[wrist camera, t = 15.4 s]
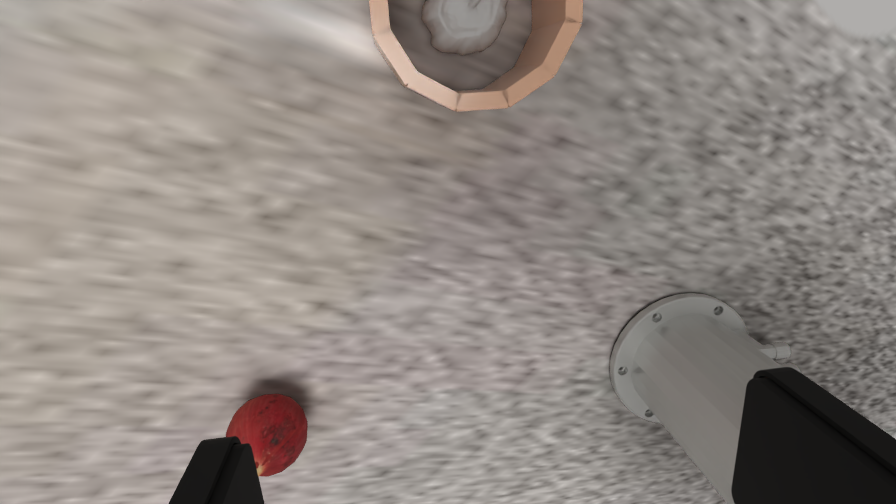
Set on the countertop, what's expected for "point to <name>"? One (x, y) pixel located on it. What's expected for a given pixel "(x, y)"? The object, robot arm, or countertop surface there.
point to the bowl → (537, 64)
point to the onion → (271, 431)
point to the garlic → (463, 24)
